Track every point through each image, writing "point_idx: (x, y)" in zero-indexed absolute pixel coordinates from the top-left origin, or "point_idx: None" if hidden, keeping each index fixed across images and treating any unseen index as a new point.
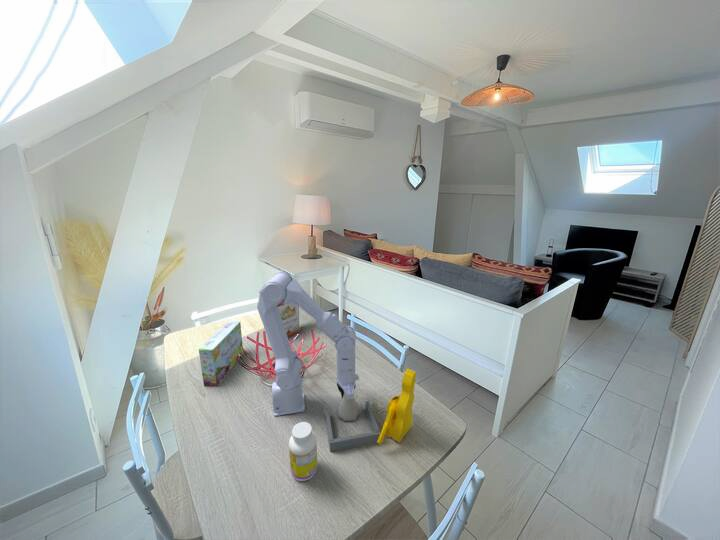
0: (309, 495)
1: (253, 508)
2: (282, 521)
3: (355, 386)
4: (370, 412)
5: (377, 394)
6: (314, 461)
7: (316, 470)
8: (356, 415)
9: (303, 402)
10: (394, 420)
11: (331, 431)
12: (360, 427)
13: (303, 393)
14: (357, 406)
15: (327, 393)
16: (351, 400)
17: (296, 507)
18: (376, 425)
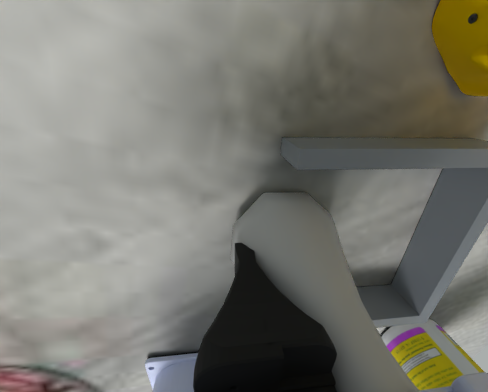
0: (461, 323)
1: None
2: (467, 350)
3: (321, 336)
4: (389, 161)
5: (172, 30)
6: (480, 368)
7: (433, 321)
8: (324, 213)
9: (194, 359)
10: None
11: (389, 319)
12: (366, 198)
13: (147, 363)
14: (295, 211)
15: (144, 294)
16: (364, 307)
17: (463, 338)
18: (483, 153)
